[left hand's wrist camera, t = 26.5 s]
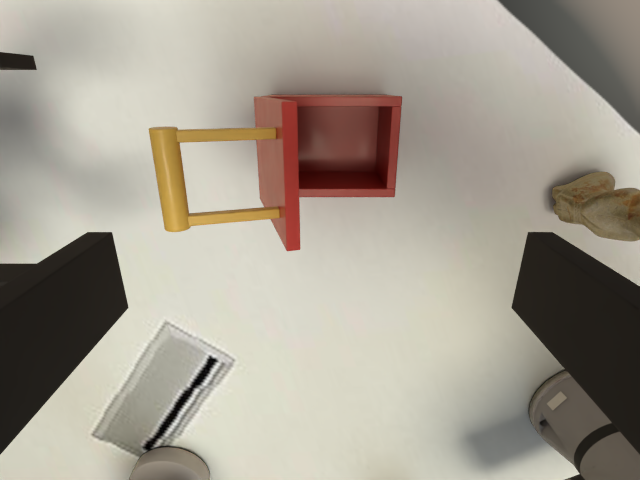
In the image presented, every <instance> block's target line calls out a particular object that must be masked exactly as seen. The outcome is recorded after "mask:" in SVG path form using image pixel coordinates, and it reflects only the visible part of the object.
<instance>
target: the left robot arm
mask: <svg viewBox="0 0 640 480" xmlns="http://www.w3.org/2000/svg"><path fill="white" fill-rule="evenodd" d="M127 309H128V304H127V299H126V294H125V290H124V285H123V281H122V276H121V272H120V267H119V262H118V258H117V253H116V249H115V244H114V240H113V235H112V232H87V233H86V234H84V235H82V236H81V237H79V238H78V239H76V240H74V241H73V242H71V243H70V244H68V245H66V246H65V247H63V248H62V249H60V250H58V251H57V252H55V253H54V254H52V255H50V256H49V257H47V258H45V259H44V260H42V261H41V262H39V263H37V264H36V265H34V266H33V267H31V268H29V269H28V270H26V271H25V272H23V273H21V274H20V275H18V276H17V277H15V278H13V279H12V280H10V281H8V282H7V283H5V284H4V285H2V286H0V454H1V453H2V452H3V451H4V450H5V449H6V447H7V446H8V445H9V444H10V443H11V442H12V441H13V439H14V438H15V437H16V436H17V435H18V434H19V432H20V431H21V430H22V429H23V428H24V427H25V426H26V424H27V423H28V422H29V421H30V420H31V419H32V418H33V416H34V415H35V414H36V413H37V412H38V411H39V410H40V408H41V407H42V406H43V405H44V404H45V403H46V402H47V400H48V399H49V398H50V397H51V396H52V395H53V393H54V392H55V391H56V390H57V389H58V388H59V387H60V385H61V384H62V383H63V382H64V381H65V380H66V379H67V377H68V376H69V375H70V374H71V373H72V372H73V371H74V369H75V368H76V367H77V366H78V365H79V364H80V363H81V361H82V360H83V359H84V358H85V357H86V356H87V355H88V353H89V352H90V351H91V350H92V349H93V348H94V346H95V345H96V344H97V343H98V342H99V341H100V340H101V338H102V337H103V336H104V335H105V334H106V333H107V332H108V330H109V329H110V328H111V327H112V326H113V325H114V324H115V322H116V321H117V320H118V319H119V318H120V317H121V316H122V314H123V313H124V312H125V311H126V310H127ZM512 309H513V310H514V311H515V312H516V313H517V314H518V316H519V317H520V318H521V319H522V320H523V321H524V322H525V324H526V325H527V326H528V327H529V328H530V329H531V330H532V332H533V333H534V334H535V335H536V336H537V337H538V338H539V340H540V341H541V342H542V343H543V344H544V345H545V346H546V348H547V349H548V350H549V351H550V352H551V353H552V355H553V356H554V357H555V358H556V359H557V360H558V361H559V363H560V364H561V365H562V366H563V367H564V368H565V369H566V370H565V371H563V372H561V373H559V374H557V375H555V376H553V377H552V378H550V379H549V380H547V381H546V382H545V383H544V384H543V385H542V386H541V387H540V388H539V389H538V390H537V392H536V393H535V394H534V396H533V398H532V400H531V403H530V407H529V416H530V420H531V422H532V424H533V426H534V427H535V429H536V431H537V432H538V433H539V435H540V436H541V437H542V438H543V439H544V440H545V441H546V442H547V443H548V444H549V445H551V446H552V447H553V448H554V449H555V450H557V451H558V452H559V453H560V454H561V455H562V456H564V457H565V458H566V459H567V460H568V461H570V462H571V463H572V464H573V465H574V466H575V467H576V469H577V470H578V472H579V473H580V474H579V475H576V476H574V477H571V478H568V479H565V480H640V286H638V285H636V284H635V283H633V282H632V281H630V280H628V279H627V278H625V277H623V276H622V275H620V274H619V273H617V272H615V271H614V270H612V269H611V268H609V267H607V266H606V265H604V264H603V263H601V262H599V261H598V260H596V259H595V258H593V257H591V256H590V255H588V254H586V253H585V252H583V251H582V250H580V249H578V248H577V247H575V246H574V245H572V244H570V243H569V242H567V241H566V240H564V239H562V238H561V237H559V236H558V235H556V234H554V233H553V232H528V235H527V240H526V244H525V249H524V253H523V258H522V262H521V267H520V272H519V276H518V281H517V285H516V290H515V294H514V299H513V304H512Z"/></svg>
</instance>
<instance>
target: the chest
mask: <svg viewBox="0 0 640 480" xmlns="http://www.w3.org/2000/svg"><path fill="white" fill-rule="evenodd" d="M261 97H270V98H276V99H283V100H290V101H296V102H297V121H298V168H299V197H394V196H395V184H396V171H397V158H398V144H399V131H400V118H401V105H402V97H401V96H392V95H268V96H261Z"/></svg>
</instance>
